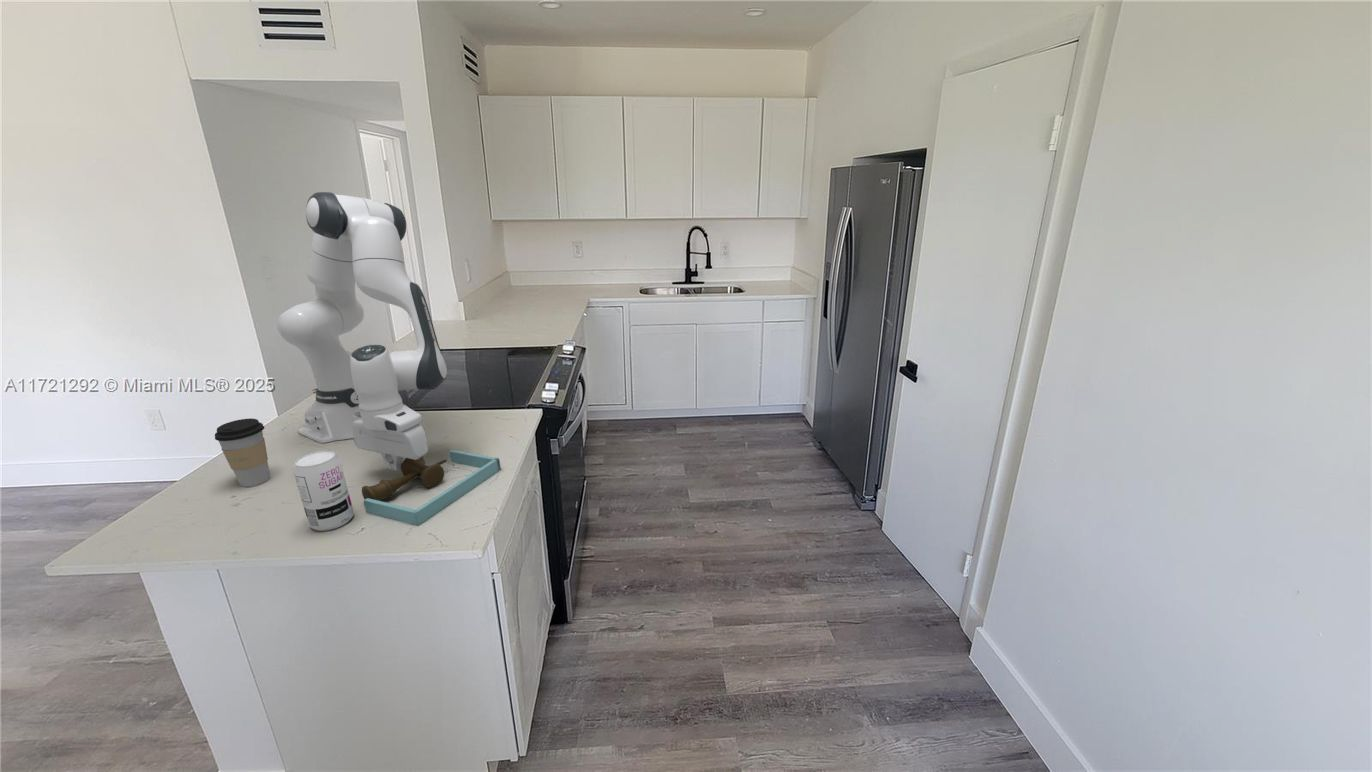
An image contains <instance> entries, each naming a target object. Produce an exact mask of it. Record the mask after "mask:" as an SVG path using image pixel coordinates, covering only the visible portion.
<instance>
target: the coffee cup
mask: <svg viewBox="0 0 1372 772" xmlns="http://www.w3.org/2000/svg"><path fill="white" fill-rule="evenodd" d="M264 429H265V426H264V424H263V423H262V422H260V421H259V419H257V418H241V419H236V420H232V421H229V422H226V423H224V424H221V425H220V426H218V427H217V428H216V432H215V434H214V440H216V441H218V443H219V445H220V447H221V451H222V453H223V455H224V457H225V459H226V461H227V463H228V465H229V467H230V469H231V470H232V471H233V473H234V475H235V478H236V479H237V481H238V483H239V486H240V487H243V488H247V487H248V488H250V487H257V486H259V485H262V484H264V483H266V482H267V481H269V479H271V475H270V469H269V468H270V467H269V463H268V459H269V458H268V453H267V447H266V446H267V445H266V441H265V437H264V433H263V431H264Z"/></svg>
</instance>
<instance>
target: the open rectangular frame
mask: <svg viewBox="0 0 1372 772" xmlns="http://www.w3.org/2000/svg"><path fill="white" fill-rule="evenodd" d="M449 457H450V460H451V463H454V464H455V463H456V464H459V465H465V466H470V467H475V468H478V469H477V470H475V471H474V472H472V473H470V474H468V475H467V476H466V477H464V478H462V479H461V480H459V481H458V482H457V483H454V484H453V485H452V486H450V487H449V488H447V489H446V490H444V491H443V492H441V493H440V494H438V495H437V496H435V497H433V498H432V499H430V500H428V501H427V502H425V503H424V504H423V505H421V506H420V507H418V508H416V509H415V508H410V507H406V506H401V505H399V504H398V505H397V504H393V503H391V502H390V503H389V502H386V501H382V500H380V501H378V500H373V499H369V498H367V499H365V500H364V499H363V503H364V508H365V511H366V513H368V514H372V515H375V516H379V517H383V518H388V519H390V520H391V519H392V520H396V521H398V522H399V521H400V522H403V523H408V524H411V525H415V526H420V525H422V524H423V523H424V522H426V521H427V520H429V519H430V518H431V517H433V516H435V515H436V514H438V513H439V512H441V511H442V510H444V509H445V508H447V506H449V505H450V504H452V503H454V502H455V501H457V500H458V499H459V498H461V497H462V496H464V495H466V494H467V493H468V492H470V491H472V489H474V488H476V487H477V486H479V485H480V484H482V483H483V482H485V480H488V479H489V478H490V477H492V476H494V475H495V474H496V473H497V472H499V471H501V470H502V467H501V466H502V465H501V462H500V458H498V457H493V456H490V455H489V456H488V455H482V454H477V453H473V452H466V451H461V450H456V449H451V450H449Z"/></svg>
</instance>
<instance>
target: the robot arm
mask: <svg viewBox="0 0 1372 772" xmlns="http://www.w3.org/2000/svg"><path fill="white" fill-rule="evenodd" d="M305 208H306V209H305V219H306V222H307V225H308V227H309V228H310V229H311V231H312V232H313V236H312V240H311V245H310V250H309V251H310V252H309V257H308V262H307V269H306V277H307V279H308V280H309V282H310V283H311V284H313V286H314V290H315V295H314V297H313V299H312V300H310V301H307V302H306V301H305V302H303V303H299V304H296V305H293V306H292V307H290V308H289V309H287V310H286V311H284V312H282V313H280V315H279V317H278V319H277V330H278V332H279V334H280V336H281V337H282V339H284V340H285V341H286V342H287V343H288V344H291V345H292V346H295V347H297V348H298V349H299V350H300V351H301V353H303V355H304V356H305V358H306V359H307V361H308V363H309V365H310V368H311V371H312V373H313V378H314V382H315V385H316V388H315V389H312V390H311V391H312V394H315V401H314V402H313V403H312V405H311V406H309V407H308V409H307V410H306V411H305V412H304V421H305V425H304V424H303V426H301V427H300V428H298V429H297V433H298V434H300V435H301V436H304V437H307V438H308V439H311V440H313V441H315V442H318V443H320V444H326V443H329V442H335V441H341V440H343V441H344V440H348V439H353V442H354V444H355V447H356V448H357V449H359V450H365V451H370V452H376V453H379V454H380V456H381V457H382V459H383V460H384V461H385V463H386V465H387V468H388V469H389V470H394V471H401V465H402V462H403V461H404V459H406V458H409V459H414V460H417V459H419V458H421V457H424V456H426V455H427V453H428V452H429V446H428V440H427V436H426V433H425V429H424V427H423V426H422V424H420V423H422V422H423V417H422V415H421V414H420V413H419V412H418V411H415V410H414V409H411V408H410V407H408V406H407V405H406V404H404V403H403V399H402V396H401V395H400V393H399V391H400V392H401V391H410V390H421V391H422V390H432V391H433V390H436V389H437V388H438V387H439V386H441V385H442V383H444V381H445V380H446V378H447V375H448V373H447V372H448V371H447V364H446V361H445V358H444V356H443V354H442V351H441V348H440V345H439V341H438V337H437V336H436V335H437V334H436V331H435V327H434V323H433V320H432V317H431V313H430V311H429V306H428V303H427V300H426V297H425V294H424V291H422V289H421V287H420V286H419V284H417V283H415V282H413V281H412V280H411V278H410V277H409V275H408V273H407V270H406V264H405V256H404V250H403V246H402V240H403V239H404V237H405V236H406V232H407V219H406V216H405V214H404V213H403V211H402V210H401V209H400V208H399V207H397V206H395V205H392V204H390V203H386V202H384V203H383V202H380V201H378V200H377V201H376V200H375V199H370V198H366V197H362V196H352V195H346V194H334V192H330V191H327V192H326V191H321V192H320V191H319V192H315V193H313V194H312V195H311V196H310V197H309V198H308V200H307V202H306V206H305ZM356 286H357V288H358V289H359V290H360V291H361V292H362V293H363V294H365V295H366V296H367V297H369V298H372V299H374V300H377V301H379V302H383V303H386V304H390V305H393V306H396V307H399V308H401V309H403V310H404V311H405V312H406V313H407V314H408V315H409V318H410V321H411V322H410V323H411V325H412V330H413V332H414V336H415V339H416V342H417V343H416V344H417V348H416V349H415V348H414V349H408V350H405V349H404V350H388V348H387V347H386V346H384V345H382V344H368V345H364V346H361V347H359V348H357V349H355V350H354V351H352V352H350V351H348V350H346V349H345V347H343V345H342V343H341V341H340V338H339V336H342V335H344V334H346V333H349V332H351V331H352V330H354V329H355V328H356V327H358V326H359V325H360V324H361V323H362V322H363V320H364V316H365V312H364V308H363V306H362V304H361V303H360V301H358V300H357V296H356ZM313 391H314V392H313Z"/></svg>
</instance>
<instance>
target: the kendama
mask: <svg viewBox="0 0 1372 772" xmlns="http://www.w3.org/2000/svg"><path fill="white" fill-rule="evenodd" d="M447 462H448V459H442V460H440V461H437V462H435V463H433V464H430V465H427V464H426V460H425V458H424V456H422V457H421V458H419V459H417V460H414V459H409V458H404V459H403V460H402V465H401V469H400V471H401V473H402V476H399V477H396V478H392V479H383V478H382V479H381V480H380V481H379V482H378V483H376V484H373V485H364V486H362V487H361V495H362V497H363V501H364V500H365V499H367V498H369V499H373V500H378V501H382V500H383V499H385V498H393V496H394V494H395V492H397V490H399V489H400V488H401V487H404V486H405V485H407V484H408V483H410V482H411V481H412V480H414V479H416V478H418V477H419V478H421V481H422V484H423V485H424V486H425V488H434V487H437V486H438V485H440V484H441V483H442V482H443V481H444V478H445V469H444V467H443V466H442V465H443V464H445V463H447Z"/></svg>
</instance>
